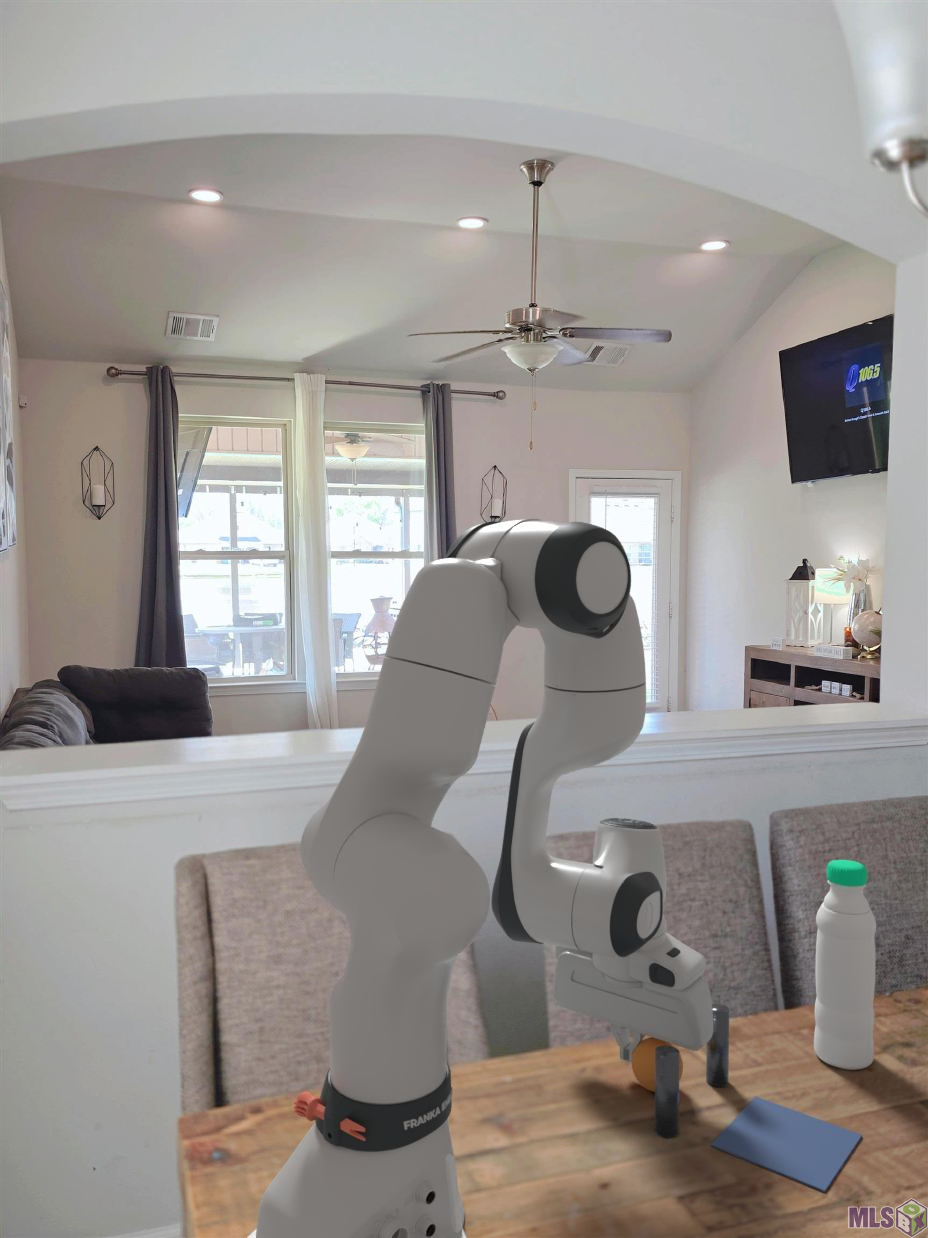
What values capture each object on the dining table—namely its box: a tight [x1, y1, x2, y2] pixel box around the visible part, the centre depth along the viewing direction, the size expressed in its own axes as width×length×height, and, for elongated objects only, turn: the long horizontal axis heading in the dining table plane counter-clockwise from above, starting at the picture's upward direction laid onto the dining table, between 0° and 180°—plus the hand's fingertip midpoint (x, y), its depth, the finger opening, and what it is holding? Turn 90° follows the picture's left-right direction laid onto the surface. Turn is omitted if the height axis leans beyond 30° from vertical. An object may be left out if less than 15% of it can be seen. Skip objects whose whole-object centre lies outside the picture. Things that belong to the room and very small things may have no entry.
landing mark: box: [711, 1096, 863, 1193], centre depth 102 cm, size 12×12×1 cm
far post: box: [705, 1003, 730, 1088], centre depth 114 cm, size 3×3×9 cm
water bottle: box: [813, 859, 877, 1071], centre depth 119 cm, size 7×7×25 cm
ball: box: [631, 1036, 684, 1093], centre depth 112 cm, size 6×6×6 cm
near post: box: [654, 1045, 681, 1139], centre depth 104 cm, size 3×3×9 cm
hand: (629, 1059), depth 115 cm, fingers closed
